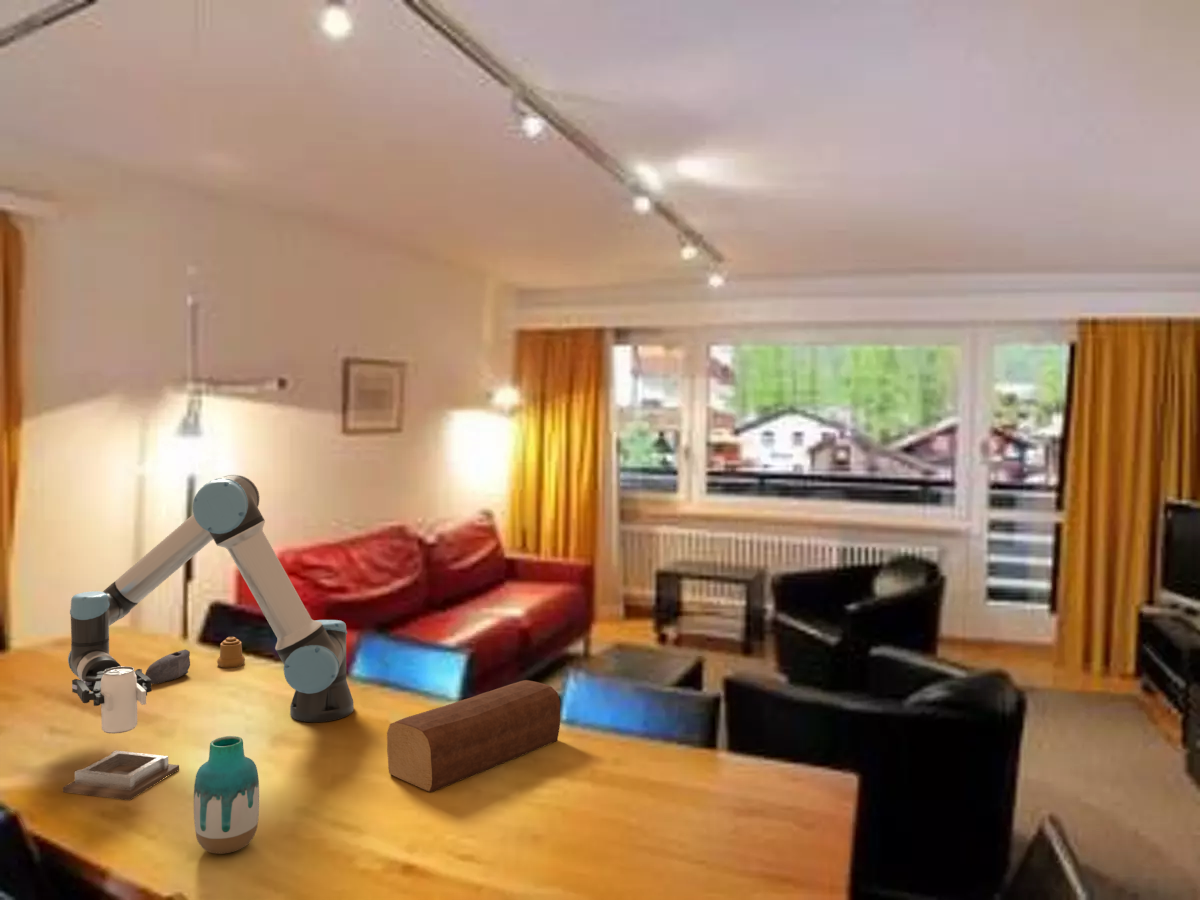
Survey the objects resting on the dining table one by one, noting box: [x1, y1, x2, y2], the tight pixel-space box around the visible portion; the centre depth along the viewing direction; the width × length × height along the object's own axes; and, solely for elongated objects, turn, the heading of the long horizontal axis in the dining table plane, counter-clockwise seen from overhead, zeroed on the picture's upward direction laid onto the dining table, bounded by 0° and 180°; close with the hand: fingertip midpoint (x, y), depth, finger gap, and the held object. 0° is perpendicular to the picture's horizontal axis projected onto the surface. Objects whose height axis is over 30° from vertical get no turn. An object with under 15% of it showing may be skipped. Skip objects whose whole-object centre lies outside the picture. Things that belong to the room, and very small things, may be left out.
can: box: [100, 666, 138, 734], centre depth 188 cm, size 6×6×12 cm
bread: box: [386, 679, 561, 793], centre depth 204 cm, size 16×39×13 cm, turn 140°
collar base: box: [62, 763, 180, 801], centre depth 189 cm, size 15×15×1 cm
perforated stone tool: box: [145, 649, 191, 685], centre depth 254 cm, size 15×5×7 cm, turn 157°
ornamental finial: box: [216, 636, 246, 669], centre depth 269 cm, size 8×8×8 cm
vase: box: [193, 735, 260, 855], centre depth 161 cm, size 11×11×19 cm
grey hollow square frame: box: [74, 750, 169, 791], centre depth 189 cm, size 13×11×2 cm
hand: (127, 700), depth 184 cm, fingers closed on can, 5 cm apart
